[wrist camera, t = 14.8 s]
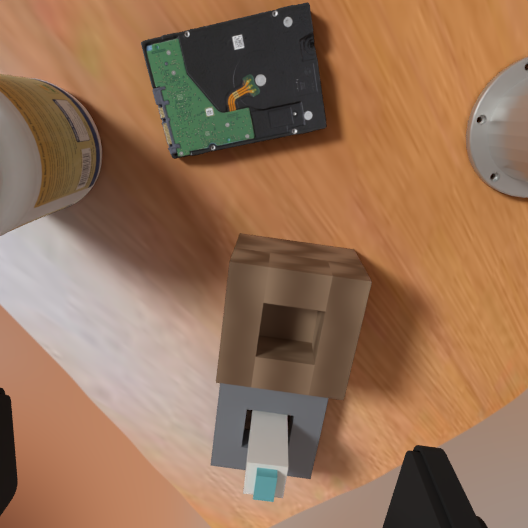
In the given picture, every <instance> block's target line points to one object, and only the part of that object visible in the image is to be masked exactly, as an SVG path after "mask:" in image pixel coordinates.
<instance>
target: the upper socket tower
mask: <svg viewBox="0 0 528 528" xmlns="http://www.w3.org/2000/svg"><path fill="white" fill-rule="evenodd" d="M371 283H372V281H371V279H370V277H369V276H368V274H367V272H366V270H365V268H364V266H363V264H362V263H361V261H360V259H359V257H358V255H357V253H356V252H355V250H354V249H347V248H340V247H333V246H326V245H318V244H311V243H304V242H297V241H290V240H283V239H276V238H269V237H262V236H255V235H247V234H239V237H238V240H237V243H236V245H235V248H234V251H233V254H232V256H231V259H230V262H229V271H228V280H227V289H226V298H225V307H224V315H223V324H222V333H221V342H220V351H219V360H218V369H217V377H216V383H223V384H230V385H237V386H244V387H252V388H259V389H266V390H273V391H281V392H288V393H295V394H302V395H309V396H317V397H324V398H331V399H338V400H344V397H345V393H346V388H347V384H348V380H349V376H350V372H351V367H352V363H353V359H354V355H355V351H356V346H357V342H358V338H359V334H360V330H361V325H362V321H363V317H364V313H365V308H366V304H367V300H368V296H369V292H370V287H371Z"/></svg>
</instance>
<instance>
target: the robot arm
mask: <svg viewBox="0 0 528 528" xmlns="http://www.w3.org/2000/svg"><path fill="white" fill-rule="evenodd" d="M525 65H526V66H527V69H526V70H525ZM478 117H479V118H480V121H479V122H478V123H477V118H478ZM466 148H467V152H468V156H469V160H470V163H471V165H472V167H473V169H474V171H475V172H476V173H477V175H478V176H479V177H480V178H481V180H482V181H483V182H485V183H486V184H487V185H489V186H490V187H491V188H493V189H495V190H497V191H499V192H501V193H504V194H508V195H511V196H516V197H523V198H528V57H525V58H523V59H521V60H519V61H517V62H514V63H512V64H511V65H509V66H508V67H506V68H505V69H504V70H502V71H501V72H499V73H498V74H497V75H496V76H495V77H494V78H493V79H492V80H491V81H490V82H489V83H488V84H487V86H486V87H485V88H484V90H483V91H482V92H481V94H480V95H479V97H478V99H477V100H476V102H475V104H474V106H473V108H472V111H471V114H470V117H469V120H468V125H467V132H466ZM492 174H493V177H492V178H490V176H491V175H492ZM16 489H17V469H16V457H15V444H14V432H13V420H12V408H11V399H10V397H9V396H8V395H5V391H4V390H3V388H0V515H1V514H2V513H3V511H4V510H5V508H6V507H7V506H8V504H9V503H10V501H11V500H12V498H13V496H14V494H15V492H16ZM383 528H488V527H487V526H486V524H485V523H484V521H483V520H482V519H481V518H480V517H478V516H476V515H475V513H474V511H473V509H472V506H471V504H470V503H469V500H468V498H467V496H466V494H465V492H464V490H463V488H462V486H461V484H460V482H459V480H458V478H457V476H456V474H455V472H454V469H453V467H452V465H451V464H450V461H449V460H448V457H447V455H446V453H445V452H444V450H443V449H441V448H435V447H427V446H420V445H416V446H415V447H414V450H413V451H407V452H406V455H405V458H404V461H403V464H402V467H401V471H400V474H399V477H398V480H397V483H396V486H395V489H394V493H393V496H392V499H391V503H390V505H389V509H388V512H387V515H386V518H385V521H384V525H383Z"/></svg>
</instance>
